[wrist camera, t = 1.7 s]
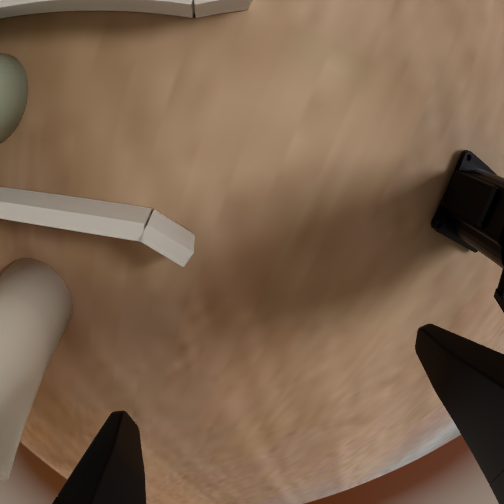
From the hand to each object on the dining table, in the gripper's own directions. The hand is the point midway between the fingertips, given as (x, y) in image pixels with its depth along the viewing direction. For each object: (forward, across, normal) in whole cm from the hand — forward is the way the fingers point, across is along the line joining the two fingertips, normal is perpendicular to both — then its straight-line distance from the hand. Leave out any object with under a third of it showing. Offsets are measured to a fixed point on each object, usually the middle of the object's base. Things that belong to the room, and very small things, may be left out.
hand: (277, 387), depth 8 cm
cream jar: (+12, +14, +1) cm, 19 cm away
